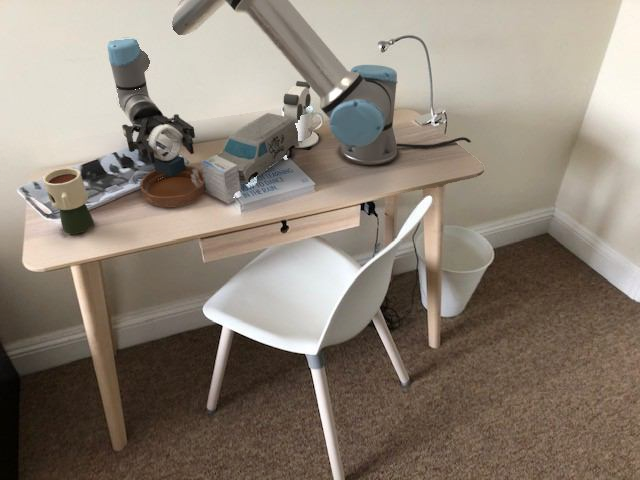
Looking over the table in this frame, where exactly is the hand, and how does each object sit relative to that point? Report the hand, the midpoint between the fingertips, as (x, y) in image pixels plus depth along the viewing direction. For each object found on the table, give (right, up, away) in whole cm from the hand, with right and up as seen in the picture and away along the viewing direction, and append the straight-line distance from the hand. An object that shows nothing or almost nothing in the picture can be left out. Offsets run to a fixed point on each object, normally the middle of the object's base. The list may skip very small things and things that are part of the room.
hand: (172, 153), depth 115 cm
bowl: (-2, -7, +11) cm, 13 cm away
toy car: (+16, 0, +21) cm, 27 cm away
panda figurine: (+26, +9, +33) cm, 43 cm away
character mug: (-20, -17, -1) cm, 26 cm away
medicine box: (+10, -9, +10) cm, 16 cm away
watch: (-2, -3, +7) cm, 8 cm away
